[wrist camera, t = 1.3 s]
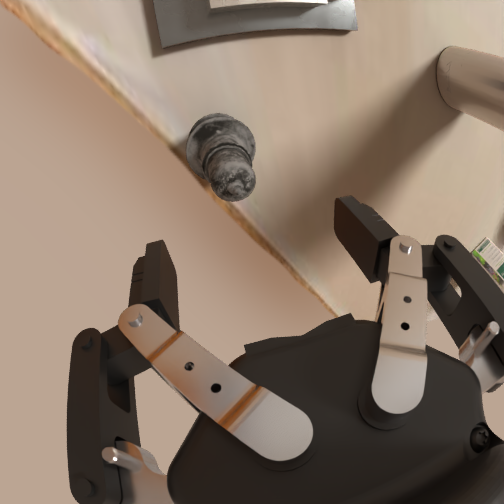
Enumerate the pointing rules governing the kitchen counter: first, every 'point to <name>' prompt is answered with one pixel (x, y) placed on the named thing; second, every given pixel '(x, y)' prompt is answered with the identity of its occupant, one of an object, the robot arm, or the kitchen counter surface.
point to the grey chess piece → (223, 155)
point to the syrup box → (491, 261)
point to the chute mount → (247, 17)
